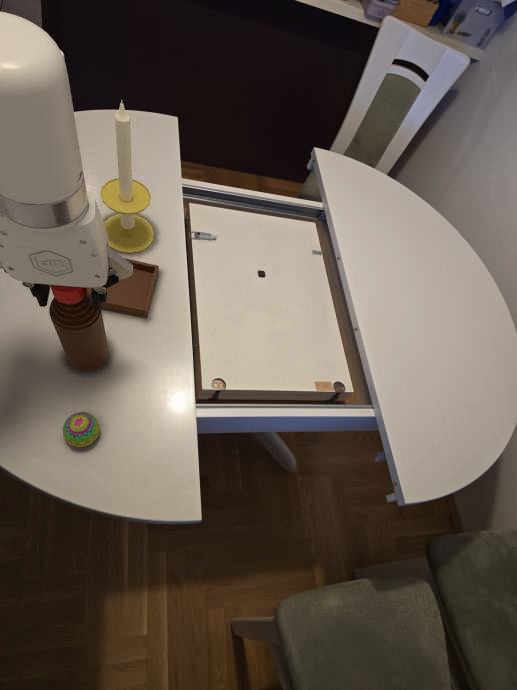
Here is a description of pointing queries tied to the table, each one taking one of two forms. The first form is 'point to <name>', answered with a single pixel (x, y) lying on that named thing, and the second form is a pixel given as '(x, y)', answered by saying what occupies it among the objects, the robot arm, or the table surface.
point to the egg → (81, 429)
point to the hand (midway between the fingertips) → (72, 298)
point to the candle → (126, 197)
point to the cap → (68, 293)
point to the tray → (132, 290)
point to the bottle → (80, 333)
